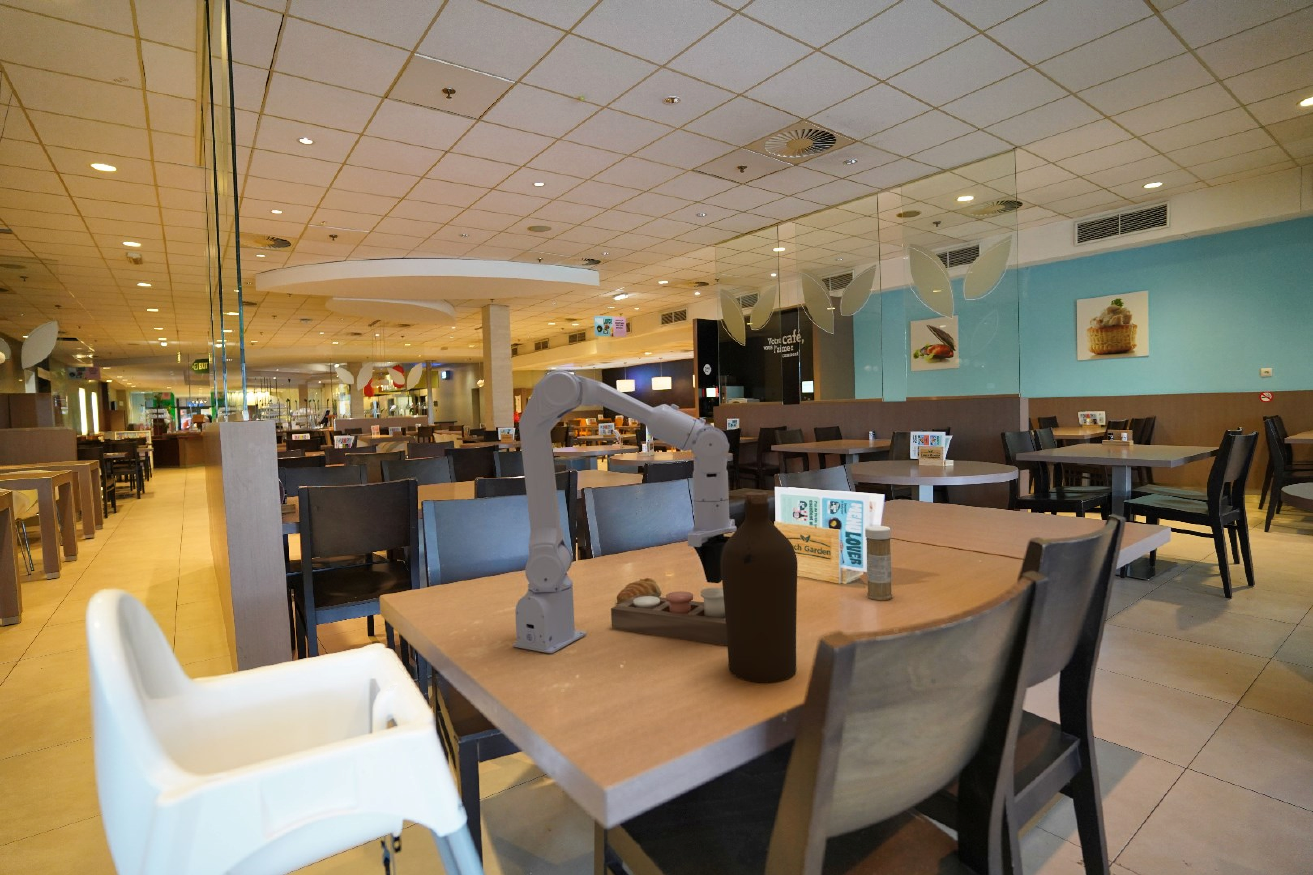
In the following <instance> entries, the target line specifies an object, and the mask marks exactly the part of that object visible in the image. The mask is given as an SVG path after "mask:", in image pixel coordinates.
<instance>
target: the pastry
mask: <svg viewBox="0 0 1313 875" xmlns="http://www.w3.org/2000/svg"><path fill="white" fill-rule="evenodd" d="M636 595H645V596H654V597H662V596H661V595H662V590H661V589H660V587H659V585H658V584H657V581H655V579H653V578H649V577H646V578H640V579H639V580H635V581H633V582H629V583H628V584H626V585H625V587H624V588H623V589H621V590H620V591H619V592H618V594H617V596H616V601H617V602H616V604H617V605H619V604H621V603H622V602H624V601H626V600H628V599H630V598H632V597H634V596H636Z"/></svg>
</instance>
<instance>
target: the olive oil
mask: <svg viewBox="0 0 1313 875" xmlns="http://www.w3.org/2000/svg"><path fill="white" fill-rule="evenodd" d="M744 498H745V502H744V504H743V505H744V521H743V522H742V523H741V525H740V526H738V528H737V530H736V531H735V532H733V534H732V535H731V536H729V537H730V538H729V539H728V541H727V542H726V544H725V546H724V548H723V552H722V556H721V574H722V581H721V582H722V584H721V585H722V588H723V596H724V608H725V620H726V632H727V660H728V668H729V669H728V670H729V672H730V673H731V674H732V675H733V676H734V677H736V678H739V679H740V678H741V680H743V679H744V680H743V681H748V682H752V681H754V682H753V683H777V682H782V681H785V680H787V679H790V678H791V677H792V676H795V673H796V672H797V607H798V606H797V605H798V604H797V600H798V598H797V597H798V565H799V564H798V557H797V554H796V550H795V548H794V545H793V544H792V542H791V541H790V540H789V538H788V537H786V535H784V533H783V532H782V531H781V530H780V529H779V528H778V527H777V525H775V524H774V523H773V522H772V521H771V520H770V519H771V518H770V502H768V498H769V493H768V492H765V491H748V492H745V493H744Z"/></svg>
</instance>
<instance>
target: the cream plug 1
mask: <svg viewBox="0 0 1313 875" xmlns="http://www.w3.org/2000/svg"><path fill="white" fill-rule="evenodd" d="M633 603H634V606H637V608H643V609H651V610H653V609H654V608H656V607H657V605H659V604H660V599H659V598H658V597H653V596H644V597H638V598H636V599H634V600H633Z"/></svg>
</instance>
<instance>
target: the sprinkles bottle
mask: <svg viewBox="0 0 1313 875" xmlns="http://www.w3.org/2000/svg"><path fill="white" fill-rule="evenodd" d="M864 530H865V531H864V532H865V533H864V534H865V535H864V537H865V538H866V581H867V595H866V596H867V597H868V598H869V599H871V600H876V601H888V600H891V599H893V595H892V554H891V538H892V531H891V528H890V527H889V526H886V525H869V526H866V527H865V529H864Z"/></svg>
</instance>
